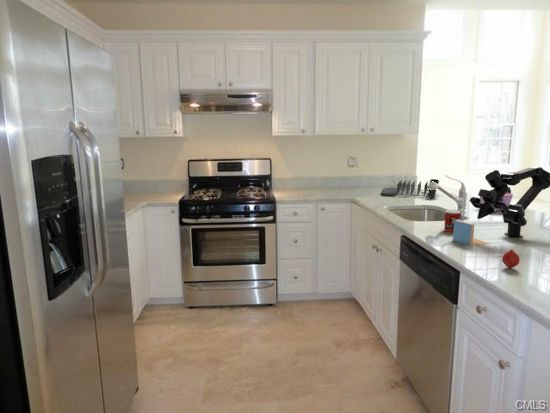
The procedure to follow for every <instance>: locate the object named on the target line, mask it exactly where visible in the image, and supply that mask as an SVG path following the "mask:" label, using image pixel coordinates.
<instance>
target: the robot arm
mask: <svg viewBox="0 0 550 413" xmlns="http://www.w3.org/2000/svg"><path fill="white" fill-rule="evenodd" d="M530 178H531V186H530V187H529V188H528V189H527V190H526V192H525V193H524V194H523V195H522V196H521V197H520V199H519V200H518V201H516V203H515V204H511V203H510V204H509V205H508V207H507V205H506V204H505V203H503V202H502V201H503V199H502V198H503V197H504V195H505V194H506V193H512V190H511V187H510V186H516V185H518V184H519V183H521V181H523V180H526V179H530ZM484 179H485V180H486V182H487V183H488V185H489V186H490V187H491V188H492V189H490V190H488V189H483V188H479V191H478V194H477V196H479V197H475V196H472V197H470V199H469V202H470V203H471V205H472V206H473V207H474V208H476V209H479V210H478V214H477V216H476V217H477V219H478V220H481V219H483V218H485V217H487V216H490V215H492V214H496V213H497V211H496V210H497V209H502V210H501V211H500V214H502V219H503V223H504V224H507V229H506V230H507V231H506V232H504V235H505V236H507V237H509V238H524V236H523V235H522V234H521V231H522V227H525V226H526V225H527V223H528V220H527V219H526V218H525V216H526V212H525V211H526V209H528V207H529V206H530V204H532V202H533V201H534V200H535V199H536V198H537V197H538V195H539V194H540V193H541V192H542V191H543V190H547V189H548V188H550V172H548V171H547V170H545V169H544V168H543V167H542V166H536V165H534V166H533V165H532V166H530V167H527V168H524V169H521V170H518V171H514V172H513V171H512V172H509V171H508V172H503V173H500V171H499V169H498V170H497V169H494V170H493V171H490V172H488V173H486V175H485V177H484ZM480 196H481V197H483V198H482V199H483V200H484V201H482V200H480ZM500 201H501V202H500Z"/></svg>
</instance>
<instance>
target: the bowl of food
mask: <svg viewBox="0 0 550 413" xmlns="http://www.w3.org/2000/svg"><path fill="white" fill-rule="evenodd" d="M513 197H514V194H513V193H512V192H511V193H506V194H505V195H504V197H503V198H502V199H503V201H502V202H503V203H505V204H506V205H507V207H508V205H510V204H511V202H512V199H513ZM479 198H480V200H482V201H484V200H483V199H482V198H483V197H481V196H479ZM500 202H501V201H500ZM501 210H502V209H497V210H496V211H495V212H501Z"/></svg>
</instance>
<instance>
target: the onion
mask: <svg viewBox="0 0 550 413" xmlns="http://www.w3.org/2000/svg"><path fill="white" fill-rule="evenodd" d="M501 260H502V263H503V264H504V266H505V267H506V268H508V269H513V268H516V267H517V266H518V265H519V263H520V256H519V255H518V253H517V252H515V251H514V249H513V248H510V250H508V251H506V252H505V253H504V254H503V255H502V258H501Z"/></svg>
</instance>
